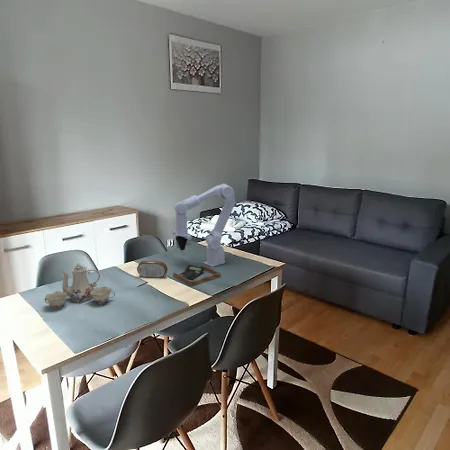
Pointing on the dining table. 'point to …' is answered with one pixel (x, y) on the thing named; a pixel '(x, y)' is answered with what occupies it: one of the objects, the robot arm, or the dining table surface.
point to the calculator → (192, 272)
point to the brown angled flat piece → (201, 280)
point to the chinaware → (78, 289)
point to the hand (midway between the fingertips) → (182, 249)
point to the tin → (152, 269)
